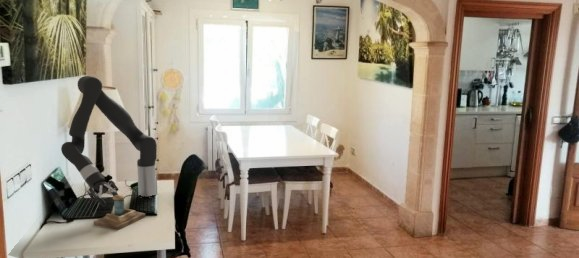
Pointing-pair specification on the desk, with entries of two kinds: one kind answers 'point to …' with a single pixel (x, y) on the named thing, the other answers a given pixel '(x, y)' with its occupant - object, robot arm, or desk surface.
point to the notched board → (119, 219)
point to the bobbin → (119, 205)
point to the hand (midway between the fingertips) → (112, 202)
